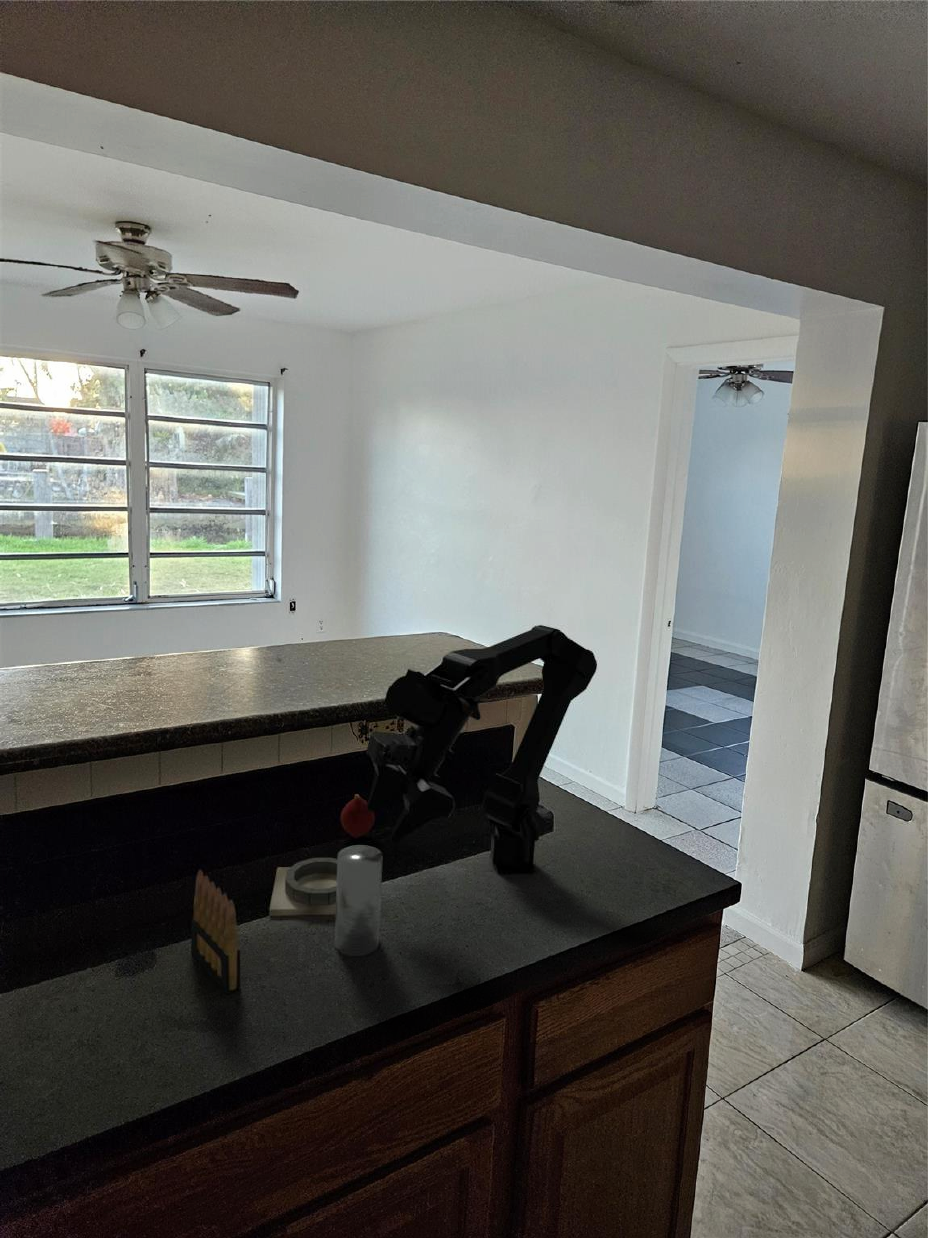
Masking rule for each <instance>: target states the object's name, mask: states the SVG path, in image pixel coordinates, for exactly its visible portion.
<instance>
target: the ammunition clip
mask: <svg viewBox="0 0 928 1238" xmlns="http://www.w3.org/2000/svg"><path fill="white" fill-rule="evenodd" d="M190 927H191V933H190V934H191V936H190V937H191V940H190V941H191V942H190V944H191V945H190V953H191V955H192V956H193V957H194V958H195V960H197V961H198V963H199V964H200V965H201V966H202V967H203V969H204V970H205V971H206V973H207V974H208V975H209V976H210V977H211V978H212V979H213V981H214V982H215V983H216V984H217V985H218V986H219V988H220V989H221V990H222V991H223V992H224V994H226V995H228V994H230V993H233V992H235V991H238V990H240V989H241V950H239V948H238V946H239V944H238V942H239V941H238V938H239V937H238V936H239V934H238V928H237V927H238V926H237V915H236V908H235V903H234V901H233V899H228V896H227V893H222V890H221V888H220V887H217V888H216V885H215V882H214V881H211V882H210V879H209V877H208V875H205V876H204V872H203V871H202V869H199V870H198V872H197V874H196V879H195V891H194V900H193V917H192V918H191V926H190Z"/></svg>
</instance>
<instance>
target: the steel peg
mask: <svg viewBox="0 0 928 1238" xmlns="http://www.w3.org/2000/svg"><path fill="white" fill-rule="evenodd" d="M383 856H384V855H383V852H382V851H381V850H380V849H378V848H377V847H374V846H370V845H368V844H367V845H366V844H356V845H355V844H354V845H350V846H347V847H344V848H342V849H341V850H339V851H338V853H337V858H336V859H337V890H336V915H335V923H334V926H335V927H334V929H335V931H334V932H335V933H334V947H335V949H336V950H337V951H338V952H339V953H340V954H343V955H345V956H350V957H362V956H363V957H364V956H367V955H370V954H372V953H374V952H375V950H377V949H378V947H379V945H380V925H381V924H380V922H381V903H382V902H381V900H382V897H381V896H382V878H383V877H382V876H383V859H384V858H383Z"/></svg>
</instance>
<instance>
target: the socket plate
mask: <svg viewBox="0 0 928 1238" xmlns="http://www.w3.org/2000/svg"><path fill="white" fill-rule="evenodd" d="M272 889H273V890H272V893H271V894H272V895H271V899H270V904H269V910H268V911H269V914H268V915H269V917H278V916H279V917H281V916H283V917H285V916H322V915H325V916H328V915H331V916H333V915H334V916H336V890H337V858H334V857H311V858H308V859H305V860H302V861H297V862H296V863H295V864H293V865H292V866H291V867H289V866H287V867H286V866H284V867H281V866H280V867H277V869H276V873H275V880H274V884H273V888H272Z"/></svg>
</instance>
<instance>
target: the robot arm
mask: <svg viewBox="0 0 928 1238" xmlns="http://www.w3.org/2000/svg"><path fill="white" fill-rule="evenodd" d="M537 660H541V661H542V662H543V665H542V668H541V677H542V685H543V689H542V693H541V695H540V697H539V699H538V701H537V704H536V706H535V709H534V710H533V713H532V716H531V718H530V721H529V722H528V724H527V728H526V730H525V732H524V735H523V736H522V739H521V741H520V744H519V746H518V748H517V750H516V752H515V756H514V757H513V760H512V763H511V765H510V767H509V768H508V769H506V770H505V771H504V772H503V773H502V774H499V773H497V772H496V773H494V774H493V775H492V777H491V779H490V781H489V785H488V788H487V790H485V792H484V793H483V796H484V799H483V802H482V807H483V809H484V813H485V816H486V821H487V824H488V825H490V826H493V827H495V828H494V832H495V833H493V834H492V835H491V840H490V853H489V854H490V855H489V857H490V859H491V864H493V865H494V867H495V871H496V872H497V873H498V874H515V873H517V874H522V873H523V874H524V873H525V874H527V873H528V874H529V873H530V874H532V873H536V870H537V869H536V867H535V864H534V859H535V858H534V856H535V847H536V846H535V845H536V842H538V841H539V839H540V837H542V836H543V835H544V833H545V830H546V827H547V821H546V820H545V819H544V818H543V816H541V815H540V813H539V812H538V811H537V810H538V807H539V804H540V800H541V799H540V790H539V778H540V775H541V773H542V771H543V769H544V766H545V764H546V761H547V759H548V756H549V755H550V751H551V749H552V747H553V746H554V743H555V740H556V738H557V735H558V733H559V731H560V728H561V725H562V723H563V721H564V719H565V716H566V715H567V711H568V710H569V706H570V704H571V702H572V701H573V700H574V699H576V698H577V697H578V696H579V695H581V694H582V693H584V692H585V691H586V690H587V688H588V686H589V684H590V683H591V681H592V679H593V677H594V675H595V674H596V672H597V669H598V662H597V660H596V656H595V654H594V652H593V650H590V649H587V648H585V647H583V646H582V645H581V644H579V643H577V642H576V641H574V640H572V639H571V638H569V637H568V636H567V635H566V634H565V633H564V632H563V631H561V629H558V628H556V627H550V626H547V625H542V624H539V625H534V626H533V627H532V628H531V629H530V630H526V631H525V632H523V633H520V634H517V635H515V636H512V637H510V638H508V639H505V640H502V641H501V642H498V643H495V644H492V645H490V646H488V647H484V648H464V649H458V650H453V651H449V652H447V653H446V654H445V655H444V656H443V657H442V660H441V661H440V662H438V663H437V664H436V665H434V666H433V667H432V668H430V669H429V670H427V671H426V672H425V673H422V672H421V671H418V670H416V669H412V668H408V669H407V671H406V673H405V675H402V676H400V677H399V678H397V679H396V680H395V681H393V682H392V684H391V685H389V686H388V688H387V691H386V692H385V693H386V694H385V699H384V700H385V701H384V702H385V703H384V704H385V708H386V709H387V712H389V713H390V714H391V715H394V716H395V717H398V718H400V719H402V720H405V721H407V722H410V723H411V724H414V725H416V726H417V727H416V726H413V725H411V726H410V727H408V728H407V729H406V730H405V733H403V734H402V733H396V732H387V731H371V732H370V734H369V735H370V736H369V739H368V744H367V747H366V755H367V756H369V757H370V759H371V761H372V764H373V767H374V775H373V781H372V784H371V785H372V786H371V788H370V793H369V797H368V801H367V803H368V804H367V809H368V810H370V811H373V812H374V811H375V809H376V808H378V807H379V806H380V805H381V804H382V803H383V802H384V801H385V800H386V799H387V798H388V797H389V796H390V794H392V793H393V791H395V789H396V788H397V787H398V786H399V785H400V784H401V783H402V782H403V781H404V780H405V779H406V780H407V781H408V782H409V783H410V784H409V785H408V786H407V794H405V793H403V795H402V797H403V803H404V808H403V809H402V812H401V814H400V815H399V817H398V819H397V821H396V823H395V825H394V827H393V829H392V831H391V834H390V835H389V840H390V842H393V843H397V842H398V841H400V840H402V839H403V838H405V837H406V836H408V835H410V834H412V833H413V832H414V831H416V830H417V829H419V828H420V827H422V826H423V825H426V824H427V823H429V822H431V821H433V820H436V819H438V820H441V819H442V818H443V817H444V818H446V819H448V818H450V817H451V814H452V813H453V811H454V809H455V808H456V802H455V798H454V797H453V796H452V795H451V793H449V792H448V791H447V790H446V789H445V787H444V786H441V785H439V784H436V783H437V782H438V781H439V779H440V776H439V775H438V774H437V771H438V769H439V768H440V766H441V764H442V763H443V761H444V759H445V758H448V759H450V760H451V759H452V758H453V756H454V754H455V752H454V751H453V750H452V749H451V748H452V747H453V745H454V743H455V741H456V740H457V738H458V737H459V735H460V733H461V731H462V730H463V728H464V727H465V725H466V724H467V722H468V721H469V718H470V717H471V718H473V719H474V720H477V721H479V720H481V718H482V717H481V713H480V710H479V702H478V701H477V700H475V699H474V698H476V699H477V698H480V697H481V696H483V695H485V694H486V693H488V692H489V691H490V690H491V689H492V690H493V688H495V687H496V686H497V684H498V682H499V680H500V678H501V677H503V676H504V675H505V674H508V673H510V672H512V671H514V670H515V671H516V670H517V669H519V668H522V667H524V666H526V665H527V664H530V663H532V662H534V661H535V662H536V661H537Z"/></svg>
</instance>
